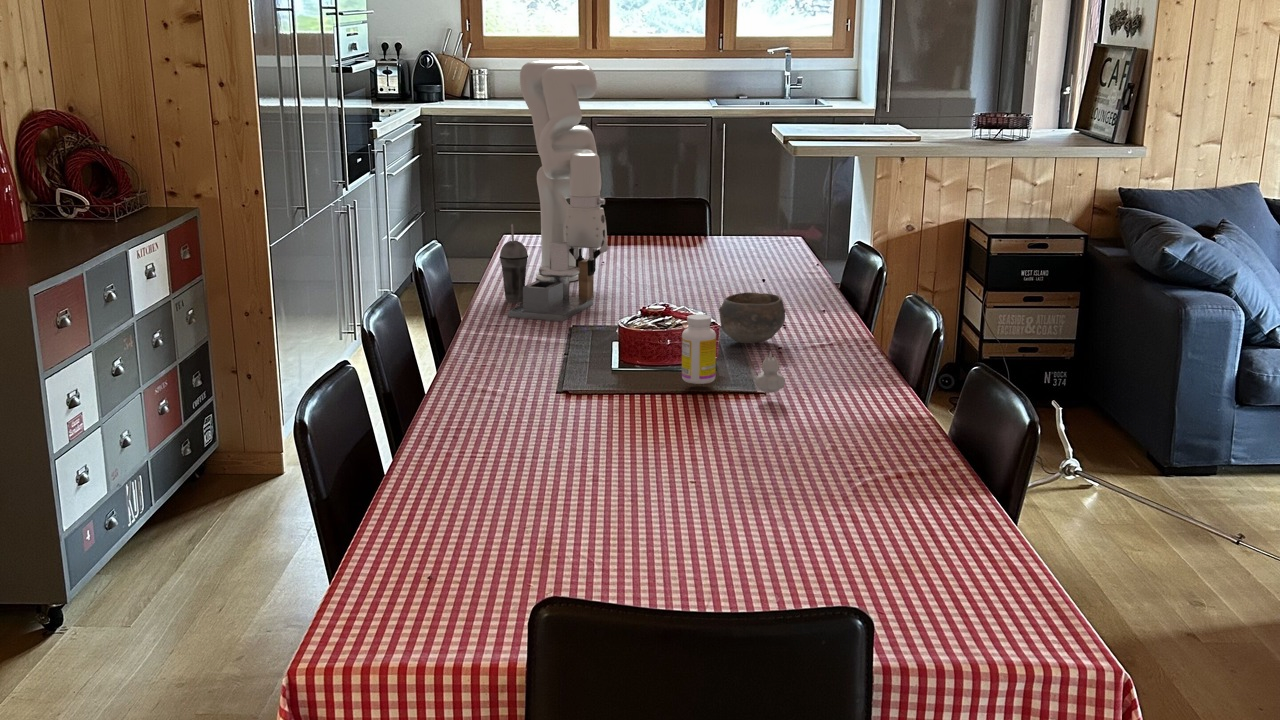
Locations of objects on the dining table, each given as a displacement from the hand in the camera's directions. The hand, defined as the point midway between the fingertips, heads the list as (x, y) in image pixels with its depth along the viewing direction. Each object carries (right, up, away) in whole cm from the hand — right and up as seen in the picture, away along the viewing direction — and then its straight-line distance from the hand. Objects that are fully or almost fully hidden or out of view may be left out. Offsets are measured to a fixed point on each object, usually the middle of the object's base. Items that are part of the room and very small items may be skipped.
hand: (585, 274), depth 310 cm
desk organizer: (-8, -10, -11) cm, 17 cm away
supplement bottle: (+25, -26, -70) cm, 79 cm away
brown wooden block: (0, -6, +2) cm, 7 cm away
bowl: (+39, -18, -40) cm, 59 cm away
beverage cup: (-18, -7, -1) cm, 19 cm away
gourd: (+39, -28, -79) cm, 92 cm away
